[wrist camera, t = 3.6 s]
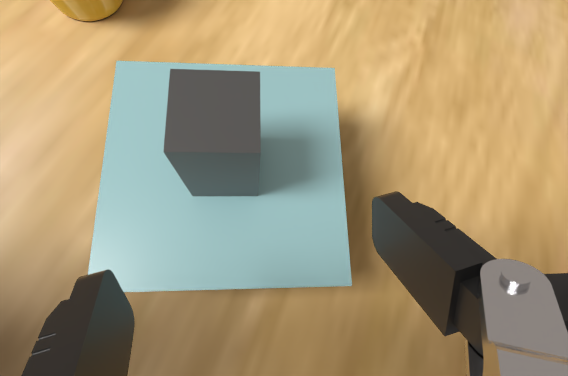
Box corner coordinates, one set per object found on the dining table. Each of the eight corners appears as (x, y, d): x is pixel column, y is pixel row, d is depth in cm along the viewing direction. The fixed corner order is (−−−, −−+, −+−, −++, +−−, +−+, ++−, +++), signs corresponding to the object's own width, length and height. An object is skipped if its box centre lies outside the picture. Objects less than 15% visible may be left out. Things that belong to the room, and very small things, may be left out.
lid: (99, 292, 20) (-11, 296, 12) (126, 76, 24) (59, -35, 16) (343, 285, 22) (402, 284, 13) (329, 82, 26) (366, -17, 17)
